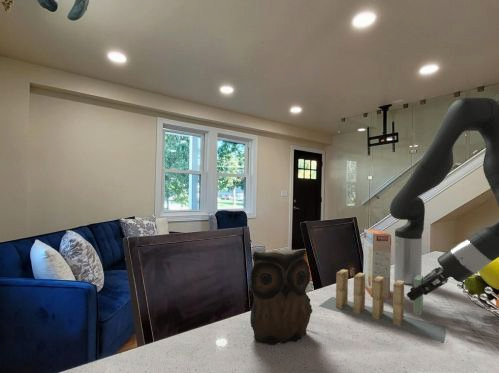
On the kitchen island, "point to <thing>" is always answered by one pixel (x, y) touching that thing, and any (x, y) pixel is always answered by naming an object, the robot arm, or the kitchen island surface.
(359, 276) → the domino
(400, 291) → the domino
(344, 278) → the domino
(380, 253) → the cracker box
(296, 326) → the owl
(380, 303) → the domino
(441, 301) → the kitchen island surface
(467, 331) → the kitchen island surface
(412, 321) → the mat
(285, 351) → the kitchen island surface
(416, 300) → the domino
